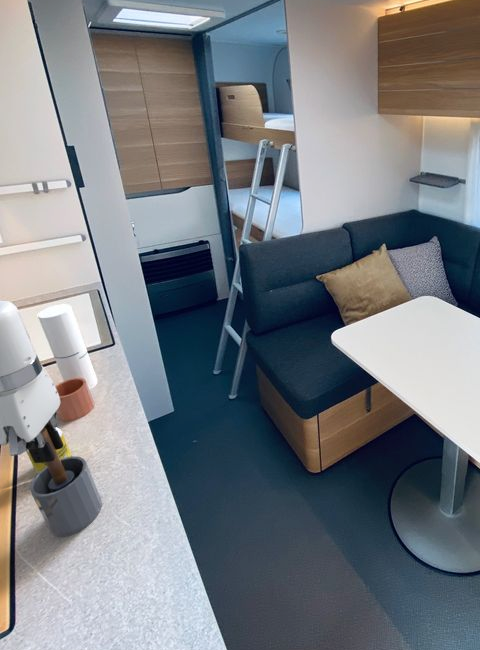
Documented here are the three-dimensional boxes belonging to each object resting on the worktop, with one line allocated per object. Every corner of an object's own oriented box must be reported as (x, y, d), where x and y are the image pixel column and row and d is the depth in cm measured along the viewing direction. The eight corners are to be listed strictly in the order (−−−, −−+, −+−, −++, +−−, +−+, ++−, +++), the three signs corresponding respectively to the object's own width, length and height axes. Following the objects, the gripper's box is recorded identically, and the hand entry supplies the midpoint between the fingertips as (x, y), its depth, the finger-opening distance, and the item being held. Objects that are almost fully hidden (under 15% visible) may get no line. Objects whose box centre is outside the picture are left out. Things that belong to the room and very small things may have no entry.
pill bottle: (41, 484, 88) (21, 444, 83) (34, 467, 92) (15, 428, 87) (76, 465, 92) (59, 425, 88) (68, 449, 96) (52, 411, 92)
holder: (57, 426, 103) (47, 401, 100) (63, 407, 109) (53, 383, 106) (93, 416, 106) (83, 391, 103) (96, 398, 112) (87, 374, 109)
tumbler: (45, 545, 76) (24, 504, 72) (54, 506, 83) (36, 467, 79) (99, 523, 79) (82, 484, 75) (104, 488, 86) (88, 449, 82)
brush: (77, 509, 78) (44, 438, 71) (54, 512, 78) (19, 442, 71) (87, 490, 82) (57, 421, 75) (65, 493, 81) (33, 424, 74)
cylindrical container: (64, 389, 116) (33, 312, 106) (91, 375, 121) (64, 301, 111) (74, 399, 112) (43, 320, 102) (102, 384, 117) (75, 308, 108)
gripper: (18, 347, 74) (52, 424, 82) (-52, 410, 60) (-3, 497, 67) (63, 343, 75) (92, 419, 83) (5, 404, 61) (47, 490, 68)
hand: (49, 454), depth 75 cm, fingers closed on brush, 2 cm apart
